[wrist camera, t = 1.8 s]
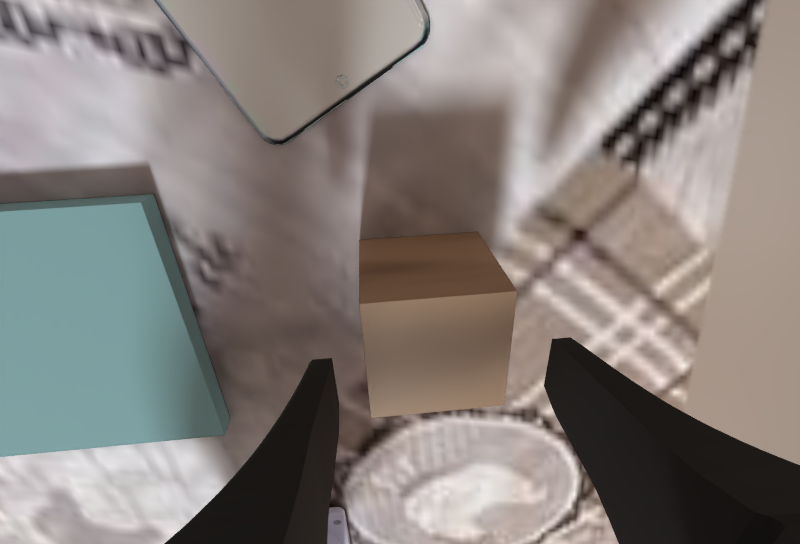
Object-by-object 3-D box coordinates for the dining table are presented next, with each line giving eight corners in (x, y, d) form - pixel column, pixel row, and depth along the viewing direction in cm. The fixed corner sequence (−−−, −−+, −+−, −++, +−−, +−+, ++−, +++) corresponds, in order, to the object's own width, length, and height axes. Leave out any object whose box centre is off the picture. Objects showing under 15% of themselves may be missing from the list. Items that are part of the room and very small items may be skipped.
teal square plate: (230, 419, 21) (224, 435, 20) (-14, 442, 20) (-31, 459, 19) (153, 194, 15) (141, 202, 14) (-191, 215, 15) (-227, 226, 14)
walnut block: (471, 326, 20) (504, 405, 15) (368, 335, 19) (371, 418, 15) (477, 230, 17) (517, 291, 13) (359, 239, 17) (359, 303, 13)
